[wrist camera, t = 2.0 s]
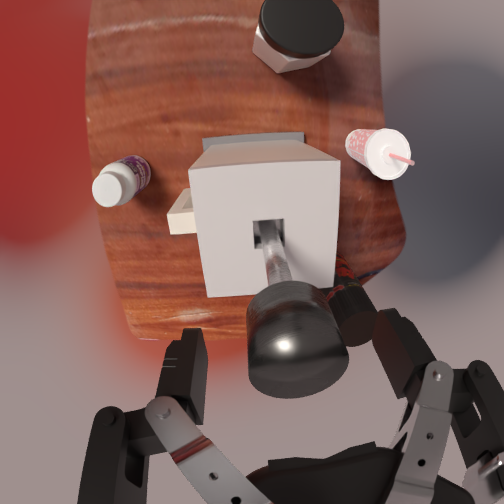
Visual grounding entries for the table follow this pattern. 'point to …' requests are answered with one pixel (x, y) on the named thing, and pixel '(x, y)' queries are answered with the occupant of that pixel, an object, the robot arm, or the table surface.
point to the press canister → (260, 209)
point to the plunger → (290, 328)
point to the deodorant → (350, 305)
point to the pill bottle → (121, 181)
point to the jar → (296, 33)
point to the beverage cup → (380, 151)
